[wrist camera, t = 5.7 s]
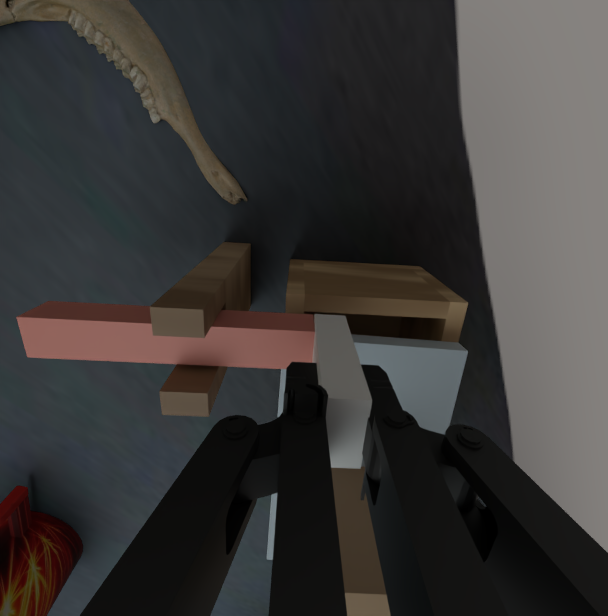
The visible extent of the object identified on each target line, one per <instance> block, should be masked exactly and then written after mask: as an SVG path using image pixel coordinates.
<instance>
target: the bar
mask: <svg viewBox="0 0 608 616" xmlns="http://www.w3.org/2000/svg"><path fill="white" fill-rule="evenodd" d="M17 321H18V325H19V328H20V332H21V336H22V339H23V343H24V346H25V350H26V354H27V357H31V358H53V359H75V360H96V361H118V362H140V363H162V364H184V365H206V366H228V367H249V368H271V369H286V368H287V367H288V366H289V365H290V363H291V362H309V363H312V359H313V348H314V337H315V327H314V317H313V315H312V314H292V313H273V312H253V311H233V310H221V311H220V313H219V314H218V316H217V318H216V320H215V321H214V323H213V325H212V326H211V328H210V330H209V331H208V333H207V335H206V337H205V338H192V337H172V336H153V332H152V323H151V314H150V306H136V305H116V304H97V303H77V302H58V301H48V302H46V303H44V304H42V305H40V306H38V307H36V308H34V309H32V310H29V311H27V312H25V313H23V314H21V315H19V316H17Z"/></svg>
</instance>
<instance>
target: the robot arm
mask: <svg viewBox="0 0 608 616" xmlns="http://www.w3.org/2000/svg"><path fill="white" fill-rule="evenodd" d="M314 327H315V337H314V348H313V359H312V363H309V362H291V363H290V365H289V366H288V367H287V368H286V381H285V392H284V402H283V412H282V414H281V415H280V416H279V417H278V418H277V419H275V420H273V421H271V422H269V423H265V424H261V425H257V423H256V422H255V421H254V420H253V419H252V418H249V417H246V416H241V415H234V416H229V417H226V418H224V419H222V420H220V421H219V422H218V423H216V424H215V425H214V427H213V428H212V430H211V431H210V432H209V434H208V435H207V437H206V438H205V439H204V441H203V442H202V444H201V445H200V446H199V448H198V449H197V451H196V452H195V454H194V455H193V456H192V458H191V459H190V461H189V462H188V463H187V465H186V466H185V468H184V469H183V470H182V472H181V473H180V475H179V476H178V478H177V479H176V480H175V482H174V483H173V485H172V486H171V487H170V489H169V490H168V492H167V493H166V495H165V496H164V497H163V499H162V500H161V502H160V503H159V504H158V506H157V507H156V509H155V510H154V511H153V513H152V514H151V516H150V517H149V519H148V520H147V521H146V523H145V524H144V526H143V527H142V528H141V530H140V531H139V533H138V534H137V535H136V537H135V538H134V540H133V541H132V543H131V544H130V545H129V547H128V548H127V550H126V551H125V552H124V554H123V555H122V557H121V558H120V560H119V561H118V562H117V564H116V565H115V567H114V568H113V569H112V571H111V572H110V574H109V575H108V576H107V578H106V579H105V581H104V582H103V584H102V585H101V586H100V588H99V589H98V591H97V592H96V593H95V595H94V596H93V598H92V599H91V600H90V602H89V603H88V605H87V606H86V608H85V609H84V610H83V612H82V613H81V615H80V616H210V615H211V612H212V610H213V607H214V605H215V603H216V600H217V598H218V595H219V593H220V590H221V588H222V585H223V583H224V580H225V578H226V576H227V573H228V571H229V568H230V566H231V563H232V561H233V558H234V556H235V553H236V551H237V548H238V546H239V544H240V541H241V539H242V536H243V534H244V531H245V529H246V526H247V524H248V521H249V519H250V517H251V514H252V512H253V509H254V507H255V504H256V501H257V498H261V497H264V496H268V495H272V494H275V493H277V506H276V520H275V535H274V549H273V564H272V578H271V593H270V607H269V616H347V608H346V599H345V590H344V581H343V572H342V562H341V553H340V544H339V535H338V526H337V516H336V507H335V498H334V489H333V480H332V471H331V468H354V469H361V464H362V458H363V459H364V464H365V473H364V478H363V484H362V490H361V500H364V497H365V493H366V497H367V502H368V507H369V512H370V516H371V521H372V526H373V531H374V536H375V541H376V546H377V551H378V556H379V561H380V565H381V570H382V575H383V580H384V585H385V590H386V595H387V600H388V605H389V610H390V614H391V616H608V553H607V552H606V551H605V550H604V549H603V548H602V547H601V546H600V545H599V544H598V543H597V542H596V541H595V540H594V539H593V538H592V537H591V536H590V535H589V534H587V533H586V532H585V531H584V529H582V528H581V527H580V526H579V525H578V524H577V523H576V522H575V521H574V520H573V519H572V518H571V517H570V516H569V515H568V514H567V513H566V512H565V511H564V510H563V509H562V508H561V507H560V506H559V505H558V504H557V503H556V502H555V501H554V500H552V498H550V497H549V496H548V495H547V494H546V493H545V492H544V491H543V490H542V489H541V488H540V487H539V486H538V485H537V484H536V483H535V482H534V481H533V480H532V479H531V478H530V477H529V476H528V475H527V474H526V473H525V472H524V471H523V470H522V469H520V467H519V466H517V465H516V464H515V463H514V462H513V461H512V460H511V459H510V458H509V457H508V456H507V455H506V454H505V453H504V452H503V451H502V450H501V449H500V448H499V447H498V446H497V445H496V444H495V443H494V442H493V441H492V440H491V439H490V438H489V437H487V436H486V435H485V434H484V433H482V432H481V431H479V430H477V429H475V428H473V427H470V426H466V425H452V426H449V427H448V428H447V430H446V431H445V435H444V434H440V433H437V432H433V431H429V430H426V429H424V428H421V427H419V425H418V422H417V421H416V419H415V418H414V417H413V416H412V415H411V414H409V413H408V412H407V411H404V410H403V409H402V407H401V405H400V402H399V400H398V398H397V396H396V393H395V391H394V389H393V386H392V384H391V382H390V380H389V377H388V375H387V373H386V372H385V371H384V370H383V369H382V368H381V367H380V366H379V365H363V364H360V360H359V357H358V354H357V351H356V348H355V345H354V342H353V339H352V335H351V332H350V329H349V326H348V323H347V320H346V317H345V316H341V315H324V314H314ZM478 496H479V497H480V498H481V499H482V501H483V502H484V503H485V504H486V507H484V506H483V505H482V504H481V503H480V501H479V500H478Z"/></svg>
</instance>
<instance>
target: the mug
mask: <svg viewBox="0 0 608 616" xmlns="http://www.w3.org/2000/svg"><path fill="white" fill-rule="evenodd" d="M82 551H83V545H82V541H81V539H80V537H79V535H78V534H77V533H76V532H75V530H74V529H73V528H72V527H70V526H69V525H68V524H67V523H65V522H63V521H62V520H60V519H58V518H56V517H53V516H51V515H48V514H44V513H41V512H35V511H30V505H29V499H28V488H27V487H23V486H16V487H15V488H14V489H13V491H12V492H11V493H10V494H9V495H8V496H7V497H6V498H5V499H4V500H3V502H2V503H1V504H0V616H47V614H48V612H49V611H50V609H51V607H52V605H53V604H54V602H55V600H56V598H57V597H58V595H59V593H60V592H61V590H62V588H63V586H64V585H65V583H66V581H67V579H68V578H69V576H70V574H71V572H72V571H73V569H74V567H75V565H76V564H77V562H78V560H79V559H80V557H81V554H82Z"/></svg>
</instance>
